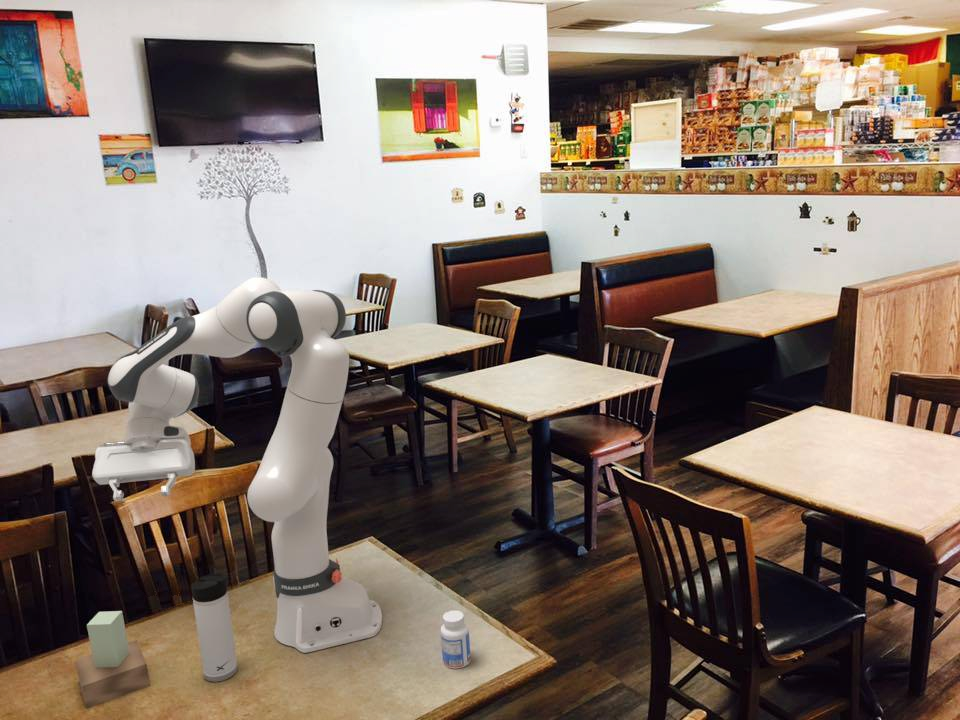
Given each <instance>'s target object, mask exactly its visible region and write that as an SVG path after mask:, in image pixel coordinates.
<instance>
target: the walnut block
mask: <svg viewBox="0 0 960 720" xmlns="http://www.w3.org/2000/svg"><path fill="white" fill-rule="evenodd" d="M128 646H129V652H130V653H129V654H128V656H127V657H126V658H125V659H124V661H123V662H122V663H121V664H120V666H119V667H105V668H95V666H94V660H93V655H92V654H90V655H87V656H84V657H81V658H77V659H75V665H76V670H77V677H78V680H79V681H78V682H79V685H80V690H81V694H82V698H83V703H84V706H85V709H88V708H92V707H94V706H97V705H99V704H103V703H106V702H108V701H111V700H115V699H116V698H119V697H122V696H125V695H128V694H131V693H133V692H136V691H139V690H141V689H144V688H147V687H150V686H151V684H150V678H149V677H150V676H149V670H148V665H147V662H146V659H145V657H144V655H143V652H142V649H141V647H140V644H139V642H138V639H135V640H132V641H128Z"/></svg>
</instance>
